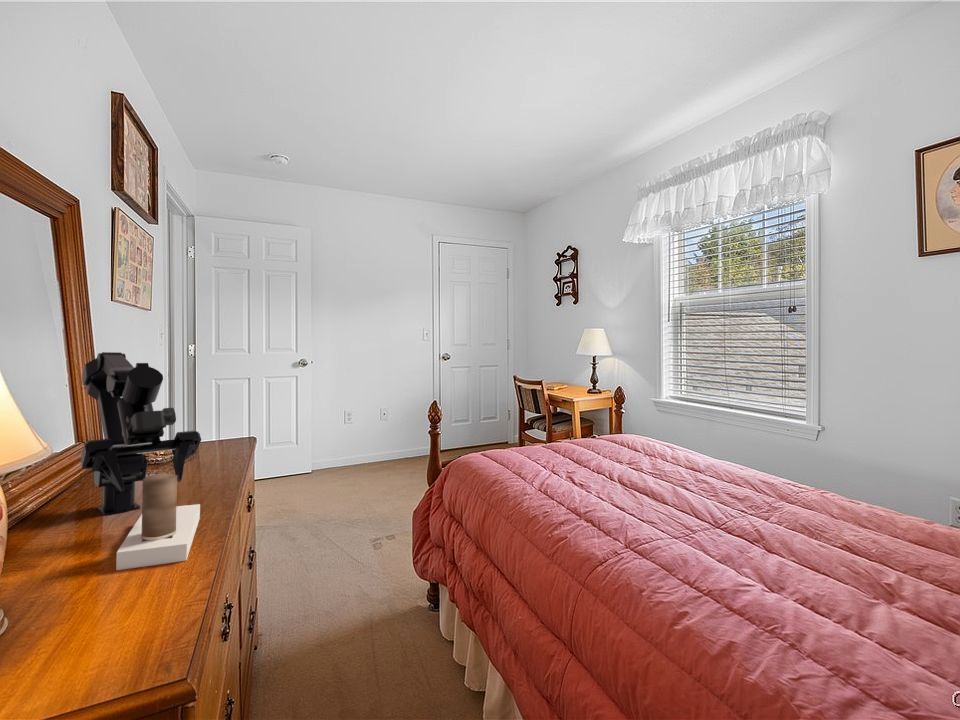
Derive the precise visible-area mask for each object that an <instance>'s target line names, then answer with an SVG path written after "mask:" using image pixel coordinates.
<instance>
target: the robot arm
mask: <svg viewBox="0 0 960 720" xmlns="http://www.w3.org/2000/svg"><path fill="white" fill-rule="evenodd" d="M149 365H150V364H149V363H148V362H136V364H135V367H134V366H133V365H132V363H130V361H128V359H127V356H126V354H125V353H122V352H116V351H115V352H108V351H105V352H104V351H102V352H99V353H97V355H96V357H95V358H93V359H92V360H90V361H89V362H87V363H85V364H84V368H83V370H82V373H81V383H82V385H83V386H85V388H86V392H87V395H88V396H90V397H91V398H92V399H94V400H95V401H97V405H98V413H99V417H100V422H101V423H100V424H101V427H102V428H101V429H102V434H103V438H102V439H93V440H87V441H86V442H85V443H84V444H83V447H82V451H81V456H80V463H81V464H80V465H81V469H83V470H91V472H93V482H94V485H96V487H97V488H102V487H103V488H102V491H103V493H102V498H103V499H102V501H103V502H102V505H98V506H97V509H98V510H99V512H101V513H102V514H103V515H104V516H110V515H114V514H120V513H124V512H126V513H127V512H130V511H134V510H139V509H141V505H140V504H138V503H137V502H136V482H143V479H144V478H146V477H147V474H146V473H147V468H148V466H149V465H148V464H149V459H147V456H146V454H147V453H155V452H162V451H163V452H165V451H171V453H172V455H173V457H172V464H173V468H174V473H175V474H174V475H177V483H181V482H182V478H183V473H184V469H185V468H184V467H185V463H186V460H188V459H189V458H190V457H191V456H193V455H195V454H196V453H197V450H198V448H199V446H200V444H201V441H202V438H201V437H202V436H201V434H200V432H199V431H197V430H186V431H185V430H184V431H178V432H176V433H175V436H174V438H173V439H166V440H161V438H162V437H163V436H164V434H165V431H164V428H166V427H167V426H173V425H174V424H175V423H176V422H177V415H176V411H175V409H174V407H166V408H165V407H164V408H162V409H161V410H154V407H153V403H155V402H156V400H157V398H158V395H159V393H160V392H159V391H160V388H161V387H162V384H163V381H164V376H163V374H162V372H160V370H158V369H156V368H154V367H151V366H149Z"/></svg>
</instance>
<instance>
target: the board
mask: <svg viewBox="0 0 960 720" xmlns="http://www.w3.org/2000/svg"><path fill="white" fill-rule="evenodd" d="M200 519H201V504H200V503H198V504H197V503H196V504H189V505H179V506H178V505H177V506H176V534H175V535H173V536H171V537H169V538H167V539H161V540H155V541H147V540H143V539H141V534H142V513H141V515H140V516H139V517H138V519H137V521H136V522H135V524H134V525H133V527H132V528H131V530H130V531H129V533H128V534H127V536H126V538H125V539H124V541H123V542H122V544H121V545H120V546H119V548H118V549H117V551H116V561H115V562H116V564H115V566H116V567H115V568H116V571H120V570H121V571H122V570H127V569H128V570H129V569H135V568H143V567H148V566H149V567H150V566H151V567H152V566H157V565H164V564H170V563H171V564H173V563H179V562H185V561H187V560H188V556H189V553H190V550H191V548H192V547H191V546H192V545H193V540H194V537H195V534H196V532H197V528H198V525H199V521H200Z"/></svg>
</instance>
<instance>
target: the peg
mask: <svg viewBox="0 0 960 720" xmlns="http://www.w3.org/2000/svg"><path fill="white" fill-rule="evenodd" d="M177 488H178V481H177V475H175V474H171V473H164V474H163V473H162V474H160V473H159V474H153V475H149V476H146V478H144V479H143V481H142V495H141V496H142V500H141V514H142V534H141V539H143V540H147V541H155V540H161V539H167V538H169V537H171V536H173V535H175V534H176V506H178V505H177V504H178V503H177V499H178V496H177V494H178V493H177V492H178V489H177Z"/></svg>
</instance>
